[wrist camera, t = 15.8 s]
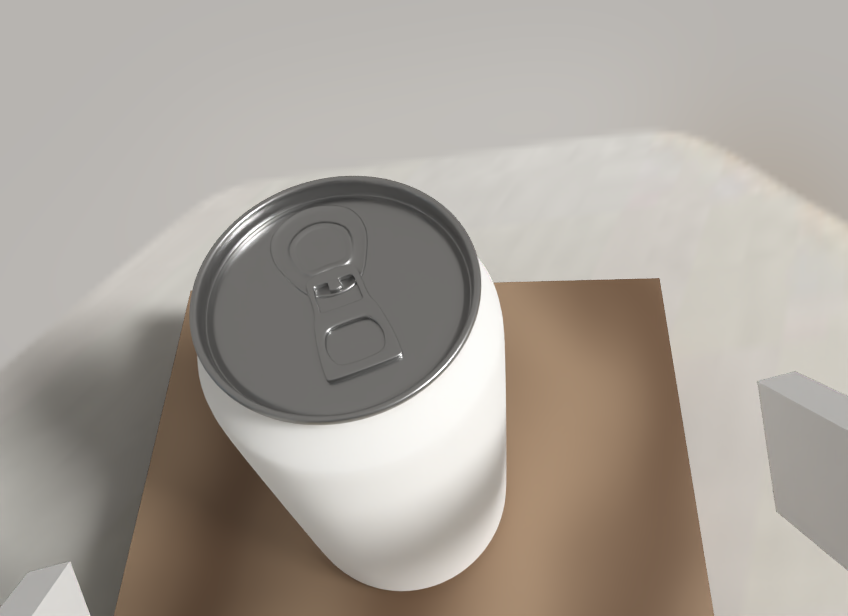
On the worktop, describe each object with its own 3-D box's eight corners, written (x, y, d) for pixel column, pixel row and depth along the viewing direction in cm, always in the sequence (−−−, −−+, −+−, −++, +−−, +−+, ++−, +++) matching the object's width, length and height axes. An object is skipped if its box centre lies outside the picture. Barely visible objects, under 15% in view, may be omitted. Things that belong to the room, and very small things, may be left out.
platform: (137, 768, 24) (77, 766, 21) (223, 340, 33) (190, 290, 29) (708, 790, 23) (742, 793, 19) (643, 332, 31) (659, 278, 28)
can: (461, 374, 26) (431, 122, 16) (540, 547, 23) (564, 365, 13) (287, 440, 26) (142, 220, 16) (341, 629, 22) (201, 505, 12)
